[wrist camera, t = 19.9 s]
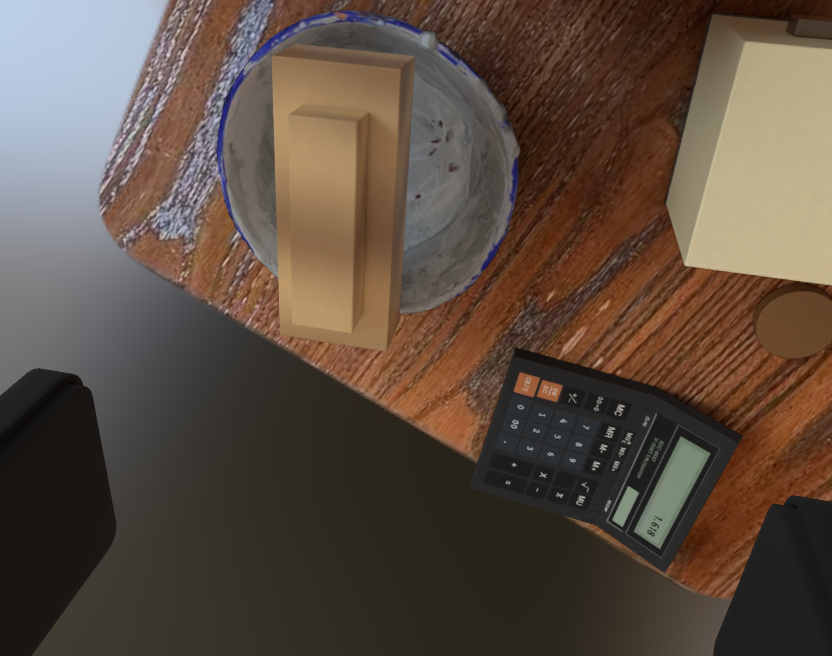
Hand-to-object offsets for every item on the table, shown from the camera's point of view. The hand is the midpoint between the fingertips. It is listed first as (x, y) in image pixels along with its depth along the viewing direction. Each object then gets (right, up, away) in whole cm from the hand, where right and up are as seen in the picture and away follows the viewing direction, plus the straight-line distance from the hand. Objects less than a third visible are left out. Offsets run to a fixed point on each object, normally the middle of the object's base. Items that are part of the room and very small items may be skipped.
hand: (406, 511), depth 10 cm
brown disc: (+18, +3, +24) cm, 30 cm away
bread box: (+18, +11, +21) cm, 29 cm away
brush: (-2, +9, +21) cm, 23 cm away
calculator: (+10, -4, +31) cm, 33 cm away
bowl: (-1, +11, +25) cm, 27 cm away
